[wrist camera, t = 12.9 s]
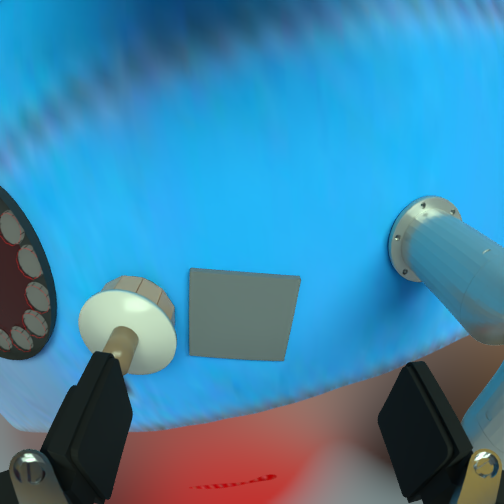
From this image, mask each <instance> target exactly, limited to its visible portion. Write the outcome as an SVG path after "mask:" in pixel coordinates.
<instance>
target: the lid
mask: <svg viewBox="0 0 504 504" xmlns="http://www.w3.org/2000/svg"><path fill="white" fill-rule="evenodd" d="M79 330H80V334H81V337H82V339H83V341H84V343H85V344H86V346H87V347H88V349H89V350H90V351H91V352H92V353H94V352H95V351H100V352H106V353H112V354H113V355H114V358H116V359H118V360H119V362H120V367H121V371H122V375H125V374H127V373H129V374H136V375H144V374H151V373H155V372H158V371H160V370H162V369H163V368H165V367H166V366H167V365H168V364H169V363H170V362H171V360H172V359H173V357H174V354H175V350H176V346H177V336H176V332H175V329H174V326H173V324H172V322H171V320H170V319H169V317H168V316H167V315H166V313H165V312H164V311H163V310H162V309H161V308H160V307H159V306H157V305H156V304H155V303H154V302H152V301H151V300H149V299H148V298H146V297H144V296H142V295H140V294H137V293H135V292H131V291H127V290H122V289H109V290H104V291H101V292H98V293H96V294H94V295H93V296H91V297H90V298H89V299H88V300H87V301H86V303H85V304H84V306H83V307H82V309H81V311H80V314H79Z"/></svg>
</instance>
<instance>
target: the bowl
mask: <svg viewBox="0 0 504 504" xmlns="http://www.w3.org/2000/svg"><path fill="white" fill-rule="evenodd" d="M109 289H122V290H127V291H131V292H135V293H137V294H140V295H142V296H144V297H146V298H148V299H149V300H151V301H152V302H154V303H155V304H156V305H157V306H159V307H160V308H161V309H162V310H163V311H164V312H165V313H166V315H167V316H168V317H169V319H170V320H171V322H172V324H173V326H175V307H174V305H173V304H172V302H171V301H170V299H169V298H168V296H167V295H166V293H165V292H164V290H163V289H162V288H160V287H159V286H158V285H156V284H155V283H153V282H151V281H150V280H147V279H145V278H142V277H136V276H121V277H118V278H116V279H114V280H112V281H110V282H108V283H106V285H105V286H104V288H103V289H102V290H101V291H104V290H109Z"/></svg>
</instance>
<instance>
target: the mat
mask: <svg viewBox="0 0 504 504" xmlns="http://www.w3.org/2000/svg"><path fill="white" fill-rule="evenodd" d="M300 282H301V279H300V276H291V275H277V274H263V273H250V272H237V271H224V270H212V269H199V268H191V269H190V286H189V353H190V355H192V356H203V357H215V358H229V359H245V360H268V361H284V357H285V353H286V349H287V344H288V340H289V335H290V330H291V326H292V321H293V316H294V312H295V307H296V302H297V297H298V292H299V287H300Z"/></svg>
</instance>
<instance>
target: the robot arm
mask: <svg viewBox="0 0 504 504" xmlns="http://www.w3.org/2000/svg"><path fill="white" fill-rule="evenodd" d="M388 248H389V256H390V261H391V263H392V265H393V267H394V268H395V269H396V271H397V272H398V273H399V274H400V275H401V276H402V277H403V278H405V279H407V280H409V281H413V282H423V283H424V284H425V285H426V286H427V287H428V288H429V289H430V291H431V292H432V293H433V294H434V295H435V296H436V297H437V298H438V299H439V300H440V301H441V303H442V304H443V305H444V306H445V307H446V308H447V309H448V310H449V311H450V313H451V314H452V315H453V316H454V317H455V318H456V319H457V321H458V322H459V323H460V324H461V325H462V326H463V327H464V328H465V330H466V331H467V332H468V333H469V334H470V335H471V336H472V337H473V338H474V339H476V340H477V341H479V342H481V343H483V344H488V345H504V247H502V246H501V245H499V244H497V243H496V242H494V241H493V240H491V239H490V238H488V237H487V236H485V235H484V234H482V233H480V232H479V231H477V230H476V229H474V228H472V227H471V226H469V225H467V224H466V223H464V222H462V218H461V215H460V213H459V211H458V210H457V208H456V207H455V206H454V205H453V204H452V203H451V202H450V201H448V200H446V199H444V198H442V197H439V196H425V197H421V198H419V199H417V200H415V201H413V202H412V203H411V204H409V205H408V206H407V207H406V208H405V209H404V210H403V211H402V212H401V213H400V215H399V216H398V218H397V219H396V221H395V223H394V225H393V227H392V230H391V233H390V237H389V244H388ZM132 415H133V412H132V407H131V404H130V400H129V397H128V393H127V390H126V386H125V382H124V378H123V375H122V371H121V367H120V362H119V360H118V359H116V358H114V355H113V354H112V353H106V352H100V351H95V352H94V353H93V355H92V357H91V359H90V361H89V363H88V365H87V366H86V368H85V370H84V372H83V374H82V376H81V378H80V380H79V382H78V384H77V385H73V386H72V387H71V388H70V389H69V391H68V392H67V394H66V396H65V398H64V400H63V402H62V404H61V407H60V409H59V411H58V413H57V415H56V417H55V419H54V421H53V423H52V425H51V427H50V430H49V432H48V434H47V436H46V438H45V441H44V443H43V445H42V447H41V450H40V452H39V451H37V450H33V449H26V450H22V451H20V452H18V453H17V454H16V455H15V456H13V458H12V460H11V461H10V466H9V470H7V471H4V472H1V473H0V504H93V503H97V504H104V502H105V499H107V500H108V499H110V497H111V494H112V490H113V486H114V482H115V478H116V474H117V471H118V467H119V463H120V459H121V456H122V452H123V449H124V445H125V441H126V438H127V434H128V431H129V428H130V424H131V421H132ZM378 425H379V427H380V430H381V433H382V436H383V439H384V441H385V444H386V447H387V450H388V453H389V455H390V459H391V462H392V465H393V467H394V470H395V474H396V477H397V480H398V483H399V486H400V489H401V491H402V494H403V496H404V497H407V500H408V502H409V503H411V502H414V501H418V500H421V499H422V501H423V504H504V361H503V362H502V364H501V366H500V367H499V369H498V370H497V372H496V373H495V374H494V376H493V377H492V379H491V380H490V381H489V383H488V384H487V385H486V387H485V388H484V389H483V391H482V392H481V393H480V394H479V396H478V397H477V399H476V400H475V401H474V402H473V404H472V405H471V406H470V408H469V409H468V411H467V412H466V414H465V416H464V418H463V420H462V422H461V423H460V422H459V420H458V418H457V416H456V414H455V413H454V411H453V409H452V407H451V405H450V404H449V402H448V400H447V398H446V397H445V395H444V393H443V391H442V390H441V388H440V387H439V385H438V383H437V381H436V380H435V378H434V376H433V375H432V373H431V371H430V370H429V368H428V366H427V365H426V363H425V362H423V361H419V362H409V363H407V364H406V366H405V367H403V368H402V370H401V372H400V374H399V376H398V378H397V380H396V382H395V384H394V386H393V388H392V390H391V392H390V394H389V396H388V398H387V400H386V402H385V404H384V406H383V408H382V410H381V411H380V413H379V415H378Z"/></svg>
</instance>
